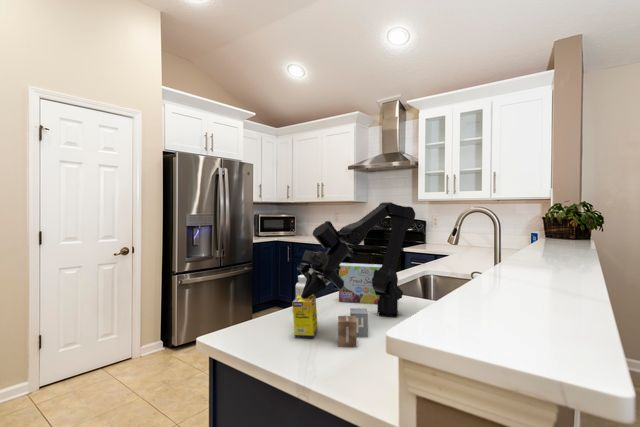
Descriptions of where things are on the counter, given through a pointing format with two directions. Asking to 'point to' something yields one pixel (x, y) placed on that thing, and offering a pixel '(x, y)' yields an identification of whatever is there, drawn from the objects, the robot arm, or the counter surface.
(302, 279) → the supplement bottle
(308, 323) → the supplement box
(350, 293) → the snack box
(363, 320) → the slate block
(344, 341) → the walnut block
